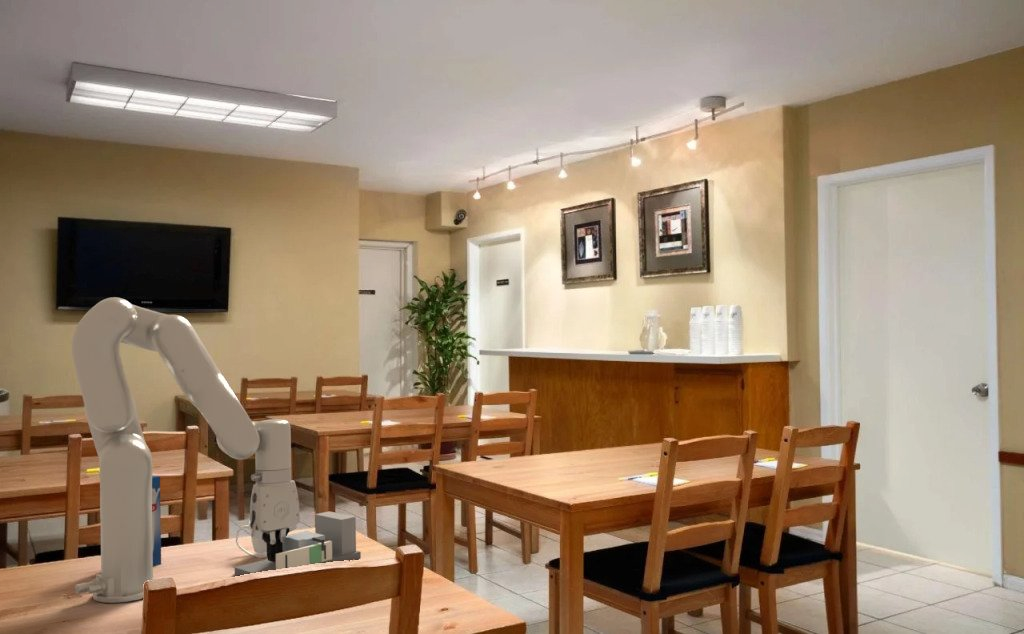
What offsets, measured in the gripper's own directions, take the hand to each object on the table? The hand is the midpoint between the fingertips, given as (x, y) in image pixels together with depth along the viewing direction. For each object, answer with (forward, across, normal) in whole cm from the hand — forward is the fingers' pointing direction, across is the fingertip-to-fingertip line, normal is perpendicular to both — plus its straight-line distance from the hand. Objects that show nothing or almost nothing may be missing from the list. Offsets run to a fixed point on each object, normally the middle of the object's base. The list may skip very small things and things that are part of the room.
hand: (274, 560), depth 184 cm
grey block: (+1, +7, -1) cm, 7 cm away
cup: (+3, +6, +16) cm, 17 cm away
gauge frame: (+3, +7, 0) cm, 7 cm away
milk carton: (+3, -17, +30) cm, 35 cm away
